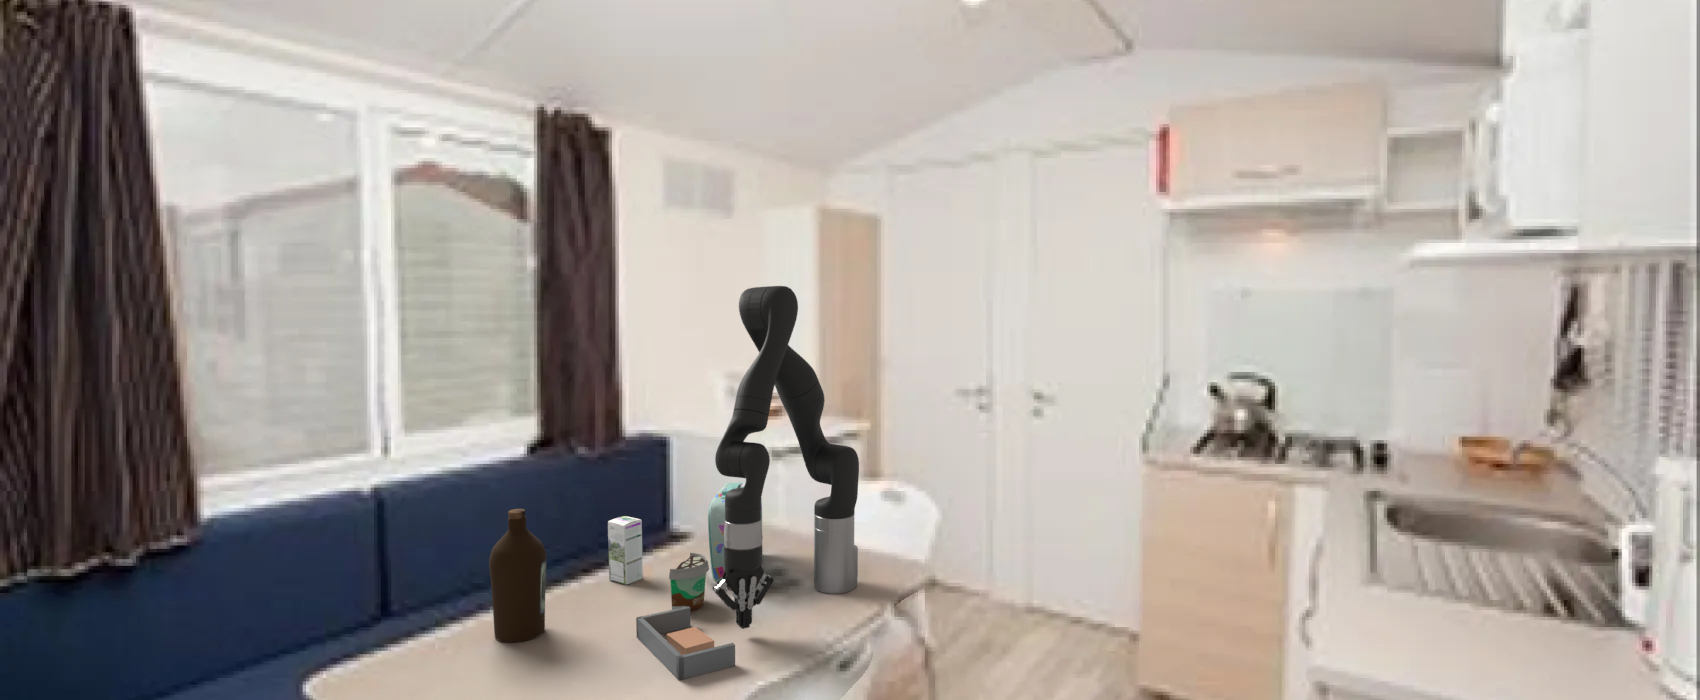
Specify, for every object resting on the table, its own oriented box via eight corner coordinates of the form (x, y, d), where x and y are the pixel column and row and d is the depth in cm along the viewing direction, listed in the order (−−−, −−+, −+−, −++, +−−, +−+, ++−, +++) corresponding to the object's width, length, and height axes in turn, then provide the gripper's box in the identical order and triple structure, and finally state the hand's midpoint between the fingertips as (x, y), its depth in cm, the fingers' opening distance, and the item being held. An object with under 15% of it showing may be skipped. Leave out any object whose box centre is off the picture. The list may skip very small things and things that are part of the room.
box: (688, 625, 179) (688, 606, 179) (735, 665, 161) (735, 644, 160) (636, 636, 173) (636, 617, 173) (678, 680, 155) (678, 658, 154)
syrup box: (643, 578, 207) (643, 518, 205) (625, 585, 202) (624, 524, 200) (626, 573, 210) (626, 514, 208) (607, 581, 205) (606, 520, 203)
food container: (696, 618, 183) (696, 572, 182) (669, 616, 184) (668, 569, 183) (717, 597, 195) (717, 553, 194) (691, 595, 196) (691, 551, 195)
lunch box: (751, 590, 199) (751, 498, 197) (706, 590, 199) (705, 498, 198) (764, 553, 226) (764, 472, 224) (724, 553, 226) (724, 471, 224)
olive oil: (493, 648, 168) (489, 520, 165) (489, 628, 177) (486, 507, 175) (551, 638, 172) (548, 514, 170) (544, 619, 182) (542, 501, 180)
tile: (694, 641, 172) (694, 626, 172) (714, 655, 166) (714, 640, 166) (666, 649, 169) (666, 634, 168) (685, 663, 162) (685, 648, 162)
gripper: (764, 531, 179) (764, 613, 180) (704, 542, 172) (705, 627, 173) (781, 541, 173) (782, 626, 174) (720, 552, 165) (721, 641, 167)
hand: (743, 626), depth 174 cm, fingers closed
